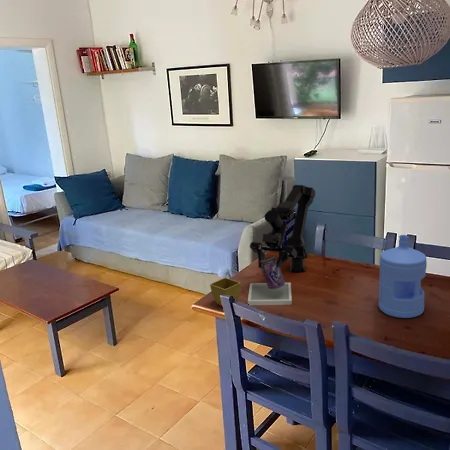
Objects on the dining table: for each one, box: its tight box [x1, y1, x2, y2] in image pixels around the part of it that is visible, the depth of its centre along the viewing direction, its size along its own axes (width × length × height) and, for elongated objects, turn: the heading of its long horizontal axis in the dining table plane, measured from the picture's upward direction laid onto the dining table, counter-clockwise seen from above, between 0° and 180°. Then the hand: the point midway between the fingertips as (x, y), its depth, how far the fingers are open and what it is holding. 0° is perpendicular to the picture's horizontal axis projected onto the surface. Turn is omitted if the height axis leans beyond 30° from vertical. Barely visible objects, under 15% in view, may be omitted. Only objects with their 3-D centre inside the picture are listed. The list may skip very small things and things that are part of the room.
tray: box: [247, 282, 293, 306], centre depth 190 cm, size 17×17×2 cm
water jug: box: [378, 234, 428, 319], centre depth 168 cm, size 16×16×28 cm
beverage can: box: [260, 255, 286, 289], centre depth 186 cm, size 7×7×12 cm
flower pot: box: [209, 277, 241, 306], centre depth 184 cm, size 9×9×9 cm
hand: (267, 268), depth 185 cm, fingers closed on beverage can, 7 cm apart
